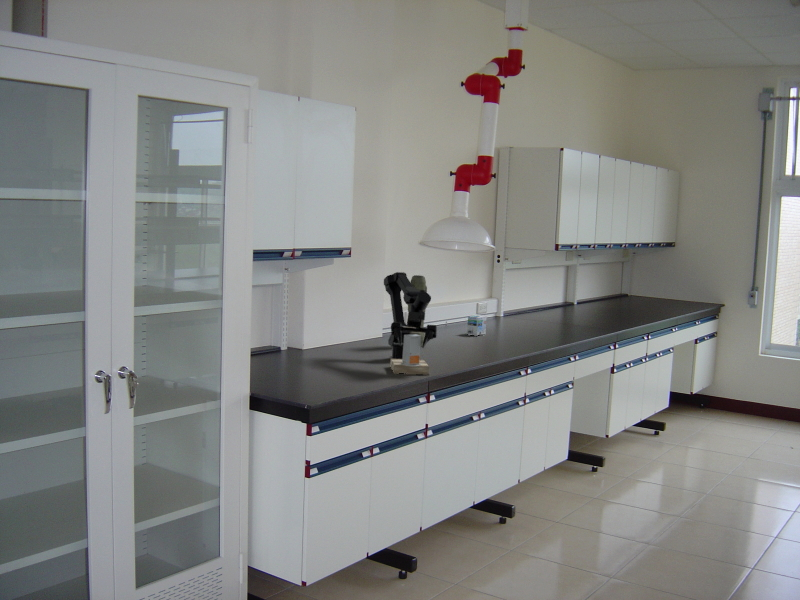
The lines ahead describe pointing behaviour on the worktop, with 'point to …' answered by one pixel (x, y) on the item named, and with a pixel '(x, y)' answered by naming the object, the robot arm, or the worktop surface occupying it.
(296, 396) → the worktop surface
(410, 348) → the skincare box
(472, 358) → the worktop surface
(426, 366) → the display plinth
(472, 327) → the light bulb box
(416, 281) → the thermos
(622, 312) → the worktop surface
